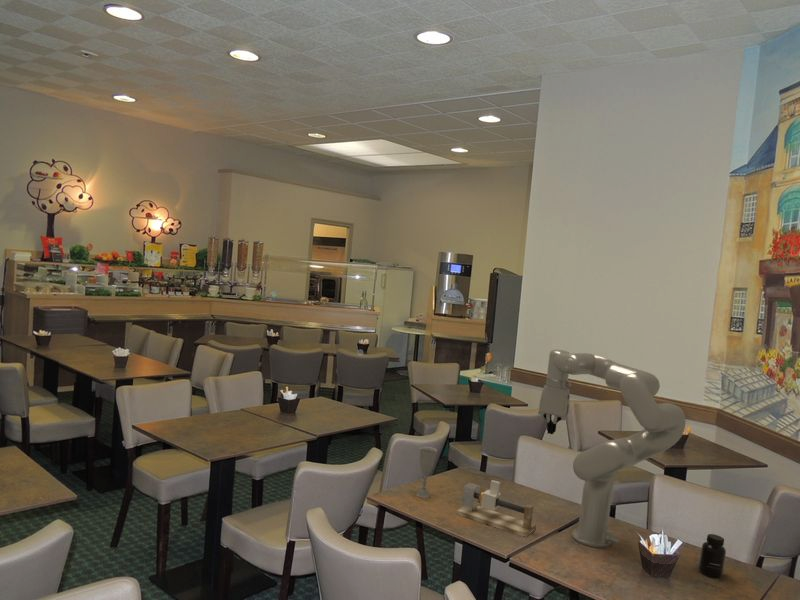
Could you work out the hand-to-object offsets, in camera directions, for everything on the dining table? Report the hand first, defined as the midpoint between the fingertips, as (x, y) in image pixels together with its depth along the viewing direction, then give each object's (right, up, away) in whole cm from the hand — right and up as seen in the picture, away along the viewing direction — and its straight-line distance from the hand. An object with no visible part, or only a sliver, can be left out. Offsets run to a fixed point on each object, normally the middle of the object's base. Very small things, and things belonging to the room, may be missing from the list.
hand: (550, 433), depth 232 cm
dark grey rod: (-21, -24, -8) cm, 33 cm away
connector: (-29, -27, -3) cm, 40 cm away
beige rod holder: (-21, -30, -7) cm, 37 cm away
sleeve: (-23, -25, -6) cm, 35 cm away
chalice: (-46, -26, +11) cm, 54 cm away
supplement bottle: (+44, -39, -30) cm, 66 cm away
